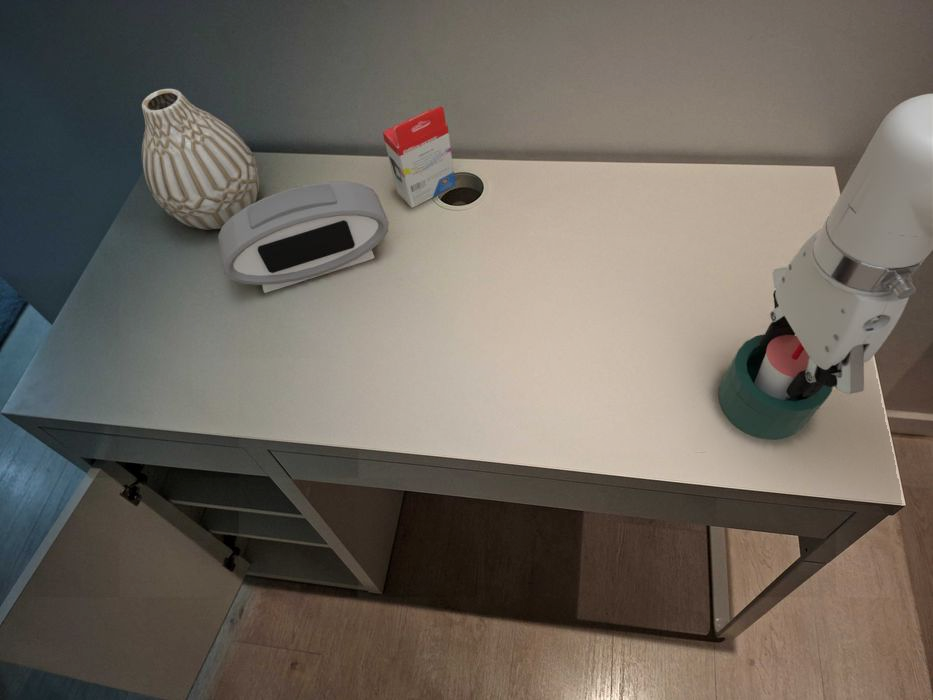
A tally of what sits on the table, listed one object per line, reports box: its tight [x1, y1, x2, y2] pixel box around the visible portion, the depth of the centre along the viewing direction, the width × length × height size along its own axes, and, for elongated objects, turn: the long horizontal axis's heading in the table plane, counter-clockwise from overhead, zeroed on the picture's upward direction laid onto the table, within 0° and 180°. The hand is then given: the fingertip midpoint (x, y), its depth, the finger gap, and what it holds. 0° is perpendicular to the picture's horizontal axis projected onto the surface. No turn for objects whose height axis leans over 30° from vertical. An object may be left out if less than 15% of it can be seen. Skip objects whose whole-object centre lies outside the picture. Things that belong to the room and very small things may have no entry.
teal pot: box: [718, 333, 833, 440], centre depth 67 cm, size 10×10×7 cm
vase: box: [141, 88, 260, 231], centre depth 89 cm, size 16×16×20 cm
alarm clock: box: [217, 181, 389, 294], centre depth 83 cm, size 23×6×13 cm, turn 110°
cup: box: [754, 334, 809, 400], centre depth 64 cm, size 5×5×12 cm
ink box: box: [382, 105, 456, 209], centre depth 89 cm, size 8×5×15 cm, turn 123°
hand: (787, 366), depth 63 cm, fingers closed on cup, 5 cm apart
